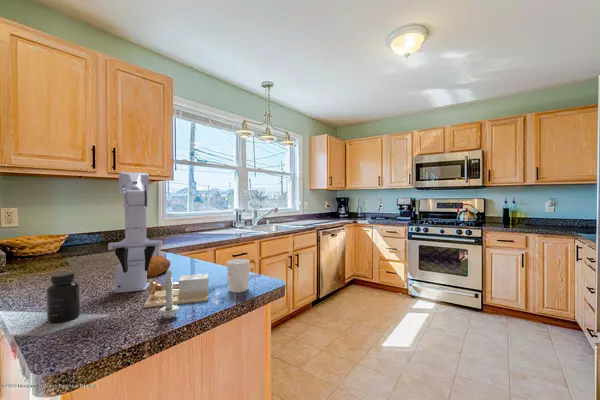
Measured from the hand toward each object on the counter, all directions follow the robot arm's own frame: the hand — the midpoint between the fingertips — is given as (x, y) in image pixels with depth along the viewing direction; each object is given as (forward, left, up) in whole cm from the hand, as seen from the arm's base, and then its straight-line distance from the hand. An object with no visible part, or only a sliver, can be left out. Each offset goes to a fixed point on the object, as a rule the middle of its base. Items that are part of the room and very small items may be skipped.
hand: (136, 271), depth 87 cm
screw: (+12, -16, -10) cm, 22 cm away
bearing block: (+13, 0, -9) cm, 16 cm away
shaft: (+10, 0, -8) cm, 13 cm away
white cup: (+32, +1, -10) cm, 33 cm away
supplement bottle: (-15, -8, -10) cm, 20 cm away
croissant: (-2, +36, -10) cm, 37 cm away
